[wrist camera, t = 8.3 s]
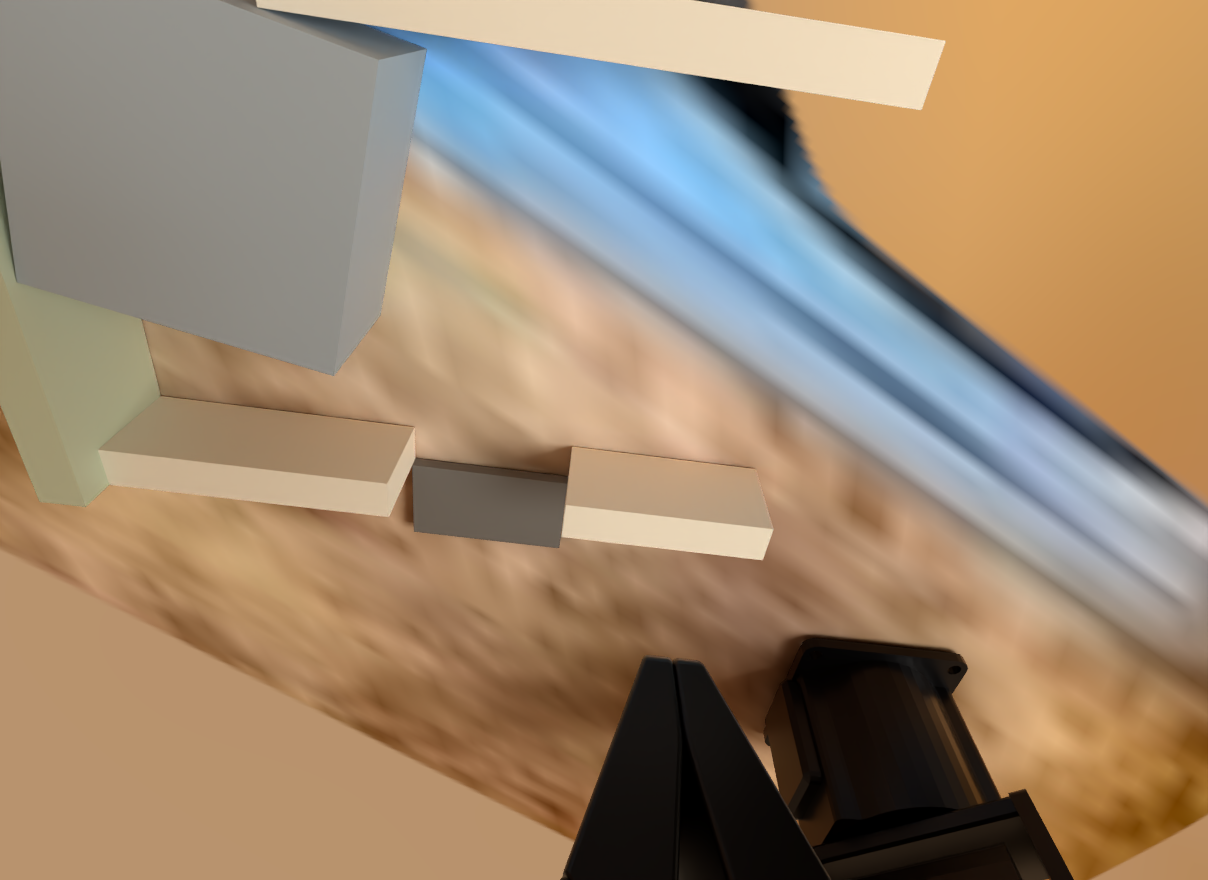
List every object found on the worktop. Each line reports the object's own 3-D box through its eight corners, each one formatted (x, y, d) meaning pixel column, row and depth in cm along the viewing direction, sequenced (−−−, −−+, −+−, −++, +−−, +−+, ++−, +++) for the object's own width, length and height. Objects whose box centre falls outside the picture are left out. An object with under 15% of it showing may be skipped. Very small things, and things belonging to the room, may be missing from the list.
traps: (240, -384, 12) (229, -396, 12) (591, 533, 24) (591, 541, 23) (-20, -259, 13) (-38, -266, 13) (439, 565, 25) (437, 573, 24)
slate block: (429, 48, 16) (378, 60, 13) (382, 312, 20) (334, 376, 16) (114, -73, 15) (-35, -95, 11) (126, 231, 18) (16, 282, 15)
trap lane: (892, 34, 15) (945, 40, 13) (746, 498, 23) (762, 559, 20) (-26, -113, 14) (-165, -139, 12) (130, 423, 21) (65, 479, 19)
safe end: (33, -103, 14) (-147, -137, 11) (169, 428, 22) (85, 506, 18) (-26, -113, 14) (-225, -149, 11) (130, 423, 21) (39, 501, 18)
